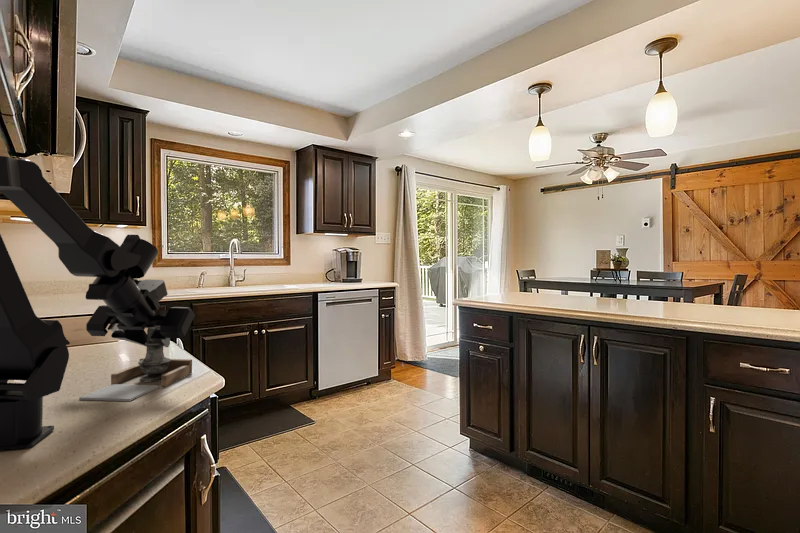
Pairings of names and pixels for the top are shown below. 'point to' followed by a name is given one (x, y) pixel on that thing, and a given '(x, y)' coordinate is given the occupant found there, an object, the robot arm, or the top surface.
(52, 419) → the top surface
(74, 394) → the top surface
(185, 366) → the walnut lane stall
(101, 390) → the slate mat
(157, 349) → the salt shaker
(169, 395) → the top surface
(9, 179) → the robot arm
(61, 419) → the top surface
